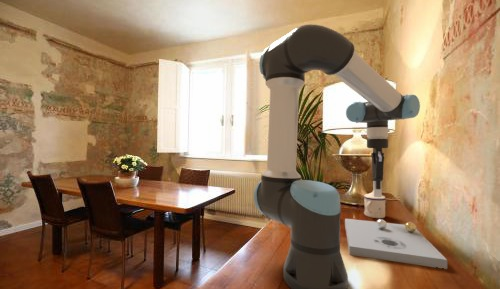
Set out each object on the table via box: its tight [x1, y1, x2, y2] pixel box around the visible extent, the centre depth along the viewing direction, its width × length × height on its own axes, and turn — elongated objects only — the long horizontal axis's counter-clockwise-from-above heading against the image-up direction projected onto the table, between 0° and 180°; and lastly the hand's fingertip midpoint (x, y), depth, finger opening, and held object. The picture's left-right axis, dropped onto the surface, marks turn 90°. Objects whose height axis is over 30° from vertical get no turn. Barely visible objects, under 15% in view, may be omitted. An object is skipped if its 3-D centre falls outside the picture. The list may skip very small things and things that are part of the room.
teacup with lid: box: [363, 190, 387, 219], centre depth 108 cm, size 12×9×12 cm
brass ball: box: [404, 221, 417, 232], centre depth 81 cm, size 3×3×3 cm
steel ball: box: [375, 218, 388, 229], centre depth 84 cm, size 3×3×3 cm
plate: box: [344, 218, 448, 270], centre depth 79 cm, size 28×24×2 cm
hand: (377, 196), depth 93 cm, fingers closed
